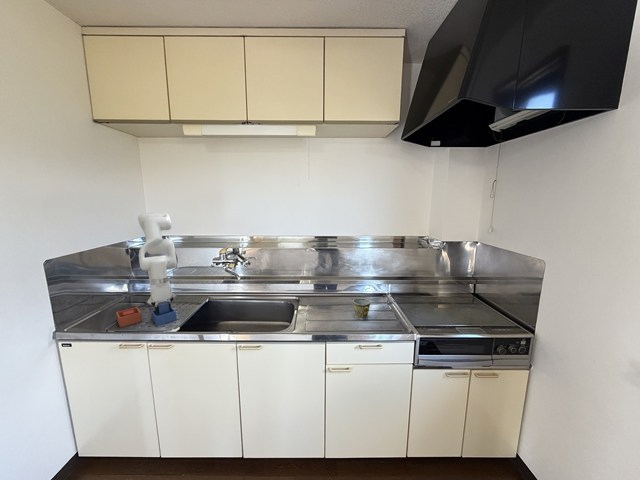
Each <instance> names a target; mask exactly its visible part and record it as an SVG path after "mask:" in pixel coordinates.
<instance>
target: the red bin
mask: <svg viewBox="0 0 640 480" xmlns="http://www.w3.org/2000/svg"><path fill="white" fill-rule="evenodd" d="M129 310H133V311H134V312H135V314H131V315H127V316H123V313H122V312H125V311H129ZM115 315H116V321H117V323H118V326H119V328H123V327H128V326H130V325H134V324H138V323H141V322H142V321H143V320H142V312H141V311H140V309H139V307H137V306H136V307H132V308H127V309H123V310H119V311H115Z"/></svg>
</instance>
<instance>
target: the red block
mask: <svg viewBox="0 0 640 480" xmlns="http://www.w3.org/2000/svg"><path fill="white" fill-rule="evenodd" d="M122 313H123V316H127V315H131V314H135V312H134V311H133V310H129V311H125V312H122Z"/></svg>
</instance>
